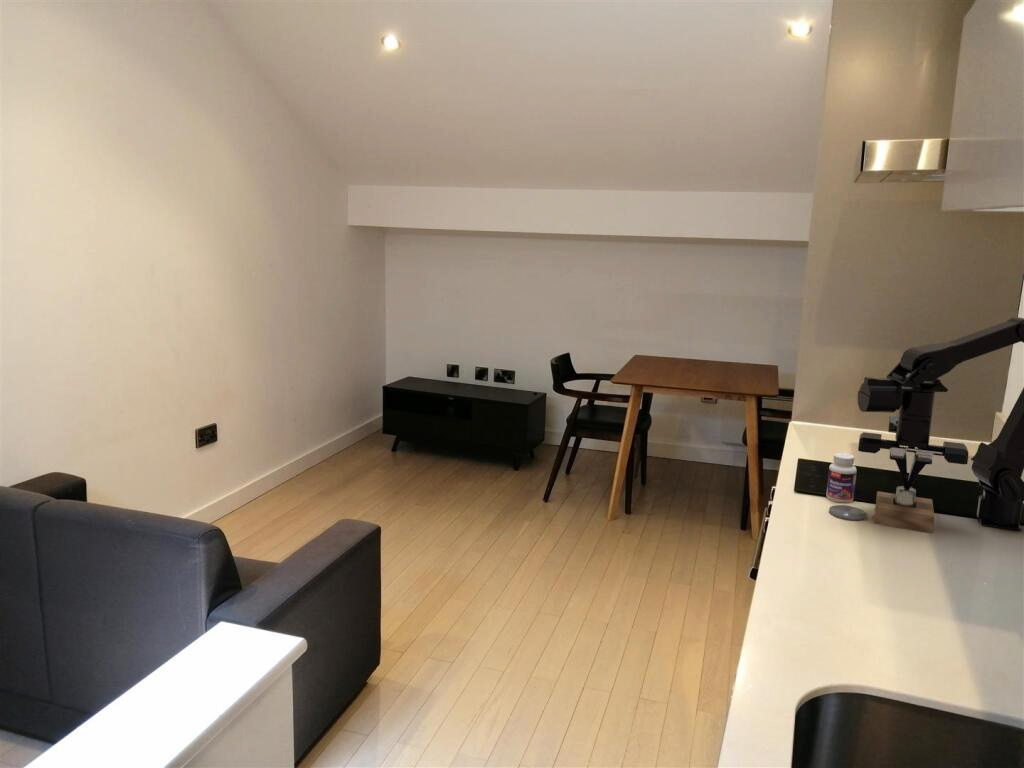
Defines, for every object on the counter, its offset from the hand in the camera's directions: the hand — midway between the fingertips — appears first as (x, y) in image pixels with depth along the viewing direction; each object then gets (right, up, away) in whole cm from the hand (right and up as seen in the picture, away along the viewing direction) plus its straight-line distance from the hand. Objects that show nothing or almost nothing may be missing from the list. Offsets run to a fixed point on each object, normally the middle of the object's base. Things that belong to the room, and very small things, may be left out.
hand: (906, 489), depth 146 cm
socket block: (0, -6, +1) cm, 6 cm away
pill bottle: (-8, -4, +13) cm, 15 cm away
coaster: (-10, -6, +4) cm, 12 cm away
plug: (0, -6, +1) cm, 6 cm away
